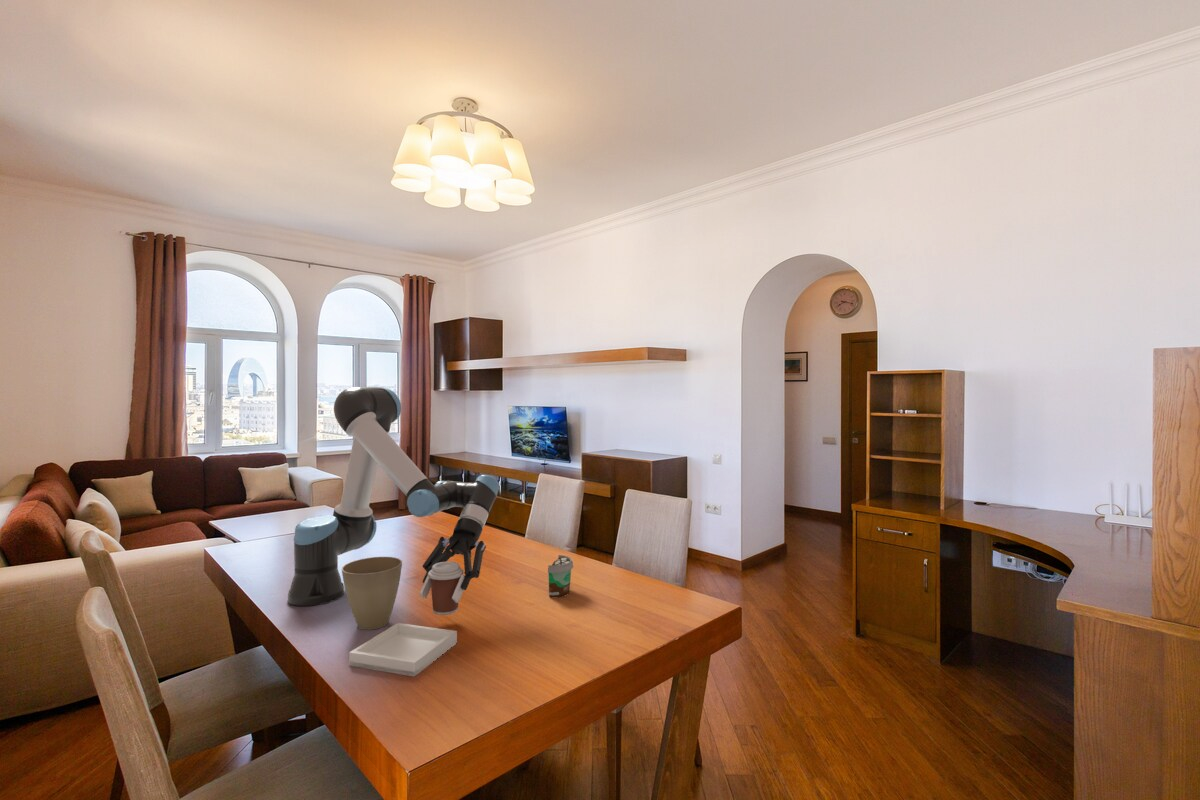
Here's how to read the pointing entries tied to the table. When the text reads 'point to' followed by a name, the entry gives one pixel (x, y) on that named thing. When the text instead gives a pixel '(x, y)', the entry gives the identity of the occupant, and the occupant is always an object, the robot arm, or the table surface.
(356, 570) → the plant pot
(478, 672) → the table surface
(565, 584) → the food container
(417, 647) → the tray
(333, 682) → the table surface
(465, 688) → the table surface
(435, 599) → the coffee cup
